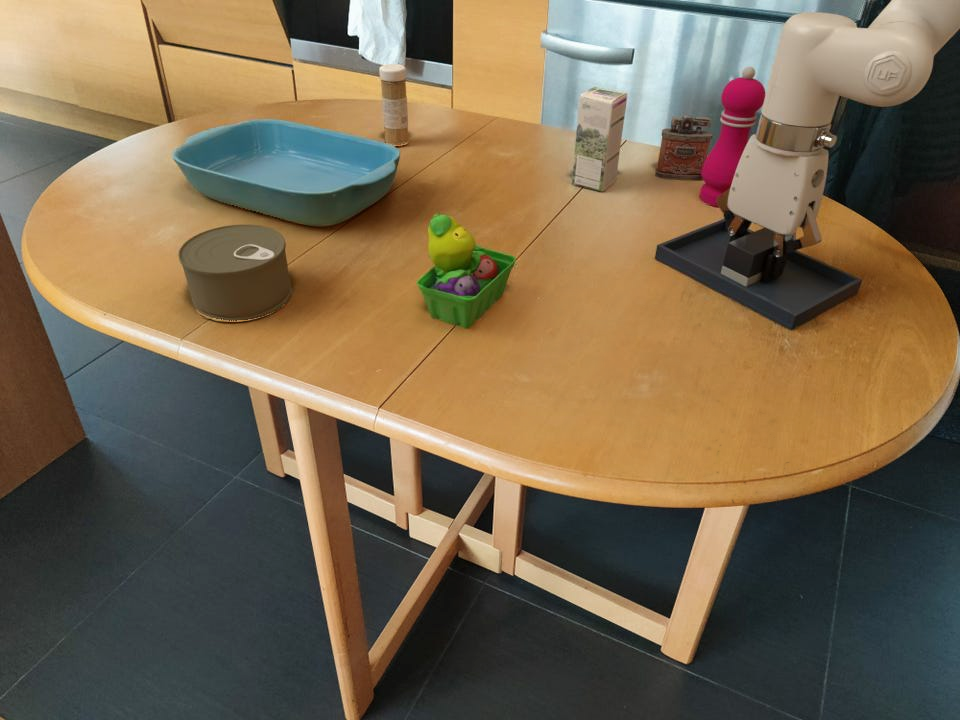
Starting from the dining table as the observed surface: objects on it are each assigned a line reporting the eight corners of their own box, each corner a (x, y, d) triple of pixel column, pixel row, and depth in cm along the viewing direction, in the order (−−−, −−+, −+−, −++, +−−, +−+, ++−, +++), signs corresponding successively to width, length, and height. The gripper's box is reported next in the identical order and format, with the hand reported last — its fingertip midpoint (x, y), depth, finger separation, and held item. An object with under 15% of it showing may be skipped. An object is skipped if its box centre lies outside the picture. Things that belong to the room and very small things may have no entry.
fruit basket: (472, 338, 81) (472, 249, 74) (406, 317, 84) (401, 230, 78) (517, 293, 89) (521, 209, 82) (455, 275, 92) (455, 193, 86)
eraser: (784, 268, 94) (793, 237, 91) (746, 286, 90) (754, 255, 87) (758, 256, 96) (766, 226, 94) (720, 273, 92) (728, 242, 90)
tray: (857, 294, 90) (863, 279, 89) (791, 330, 83) (795, 315, 82) (721, 231, 104) (724, 218, 102) (654, 258, 97) (656, 244, 95)
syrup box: (617, 181, 118) (629, 91, 109) (601, 193, 114) (613, 101, 105) (586, 173, 120) (595, 85, 112) (569, 185, 116) (578, 94, 108)
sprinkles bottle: (397, 137, 133) (393, 61, 125) (414, 143, 131) (411, 66, 123) (379, 143, 130) (373, 66, 122) (396, 149, 128) (391, 71, 120)
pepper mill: (688, 191, 115) (714, 60, 103) (730, 189, 116) (761, 59, 104) (708, 210, 109) (738, 74, 97) (751, 207, 110) (786, 72, 98)
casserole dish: (153, 194, 111) (141, 149, 107) (255, 149, 127) (248, 109, 123) (341, 251, 97) (336, 202, 93) (430, 193, 113) (428, 149, 109)
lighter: (655, 178, 119) (665, 118, 113) (654, 170, 122) (664, 111, 116) (704, 181, 118) (717, 121, 112) (702, 173, 121) (714, 114, 115)
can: (234, 265, 94) (223, 217, 90) (312, 284, 90) (305, 234, 86) (169, 310, 85) (154, 259, 81) (253, 333, 81) (242, 281, 77)
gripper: (878, 148, 79) (826, 290, 89) (749, 107, 89) (717, 238, 100) (840, 162, 75) (791, 308, 86) (710, 118, 86) (682, 252, 97)
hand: (752, 269), depth 93 cm, fingers open, 4 cm apart
